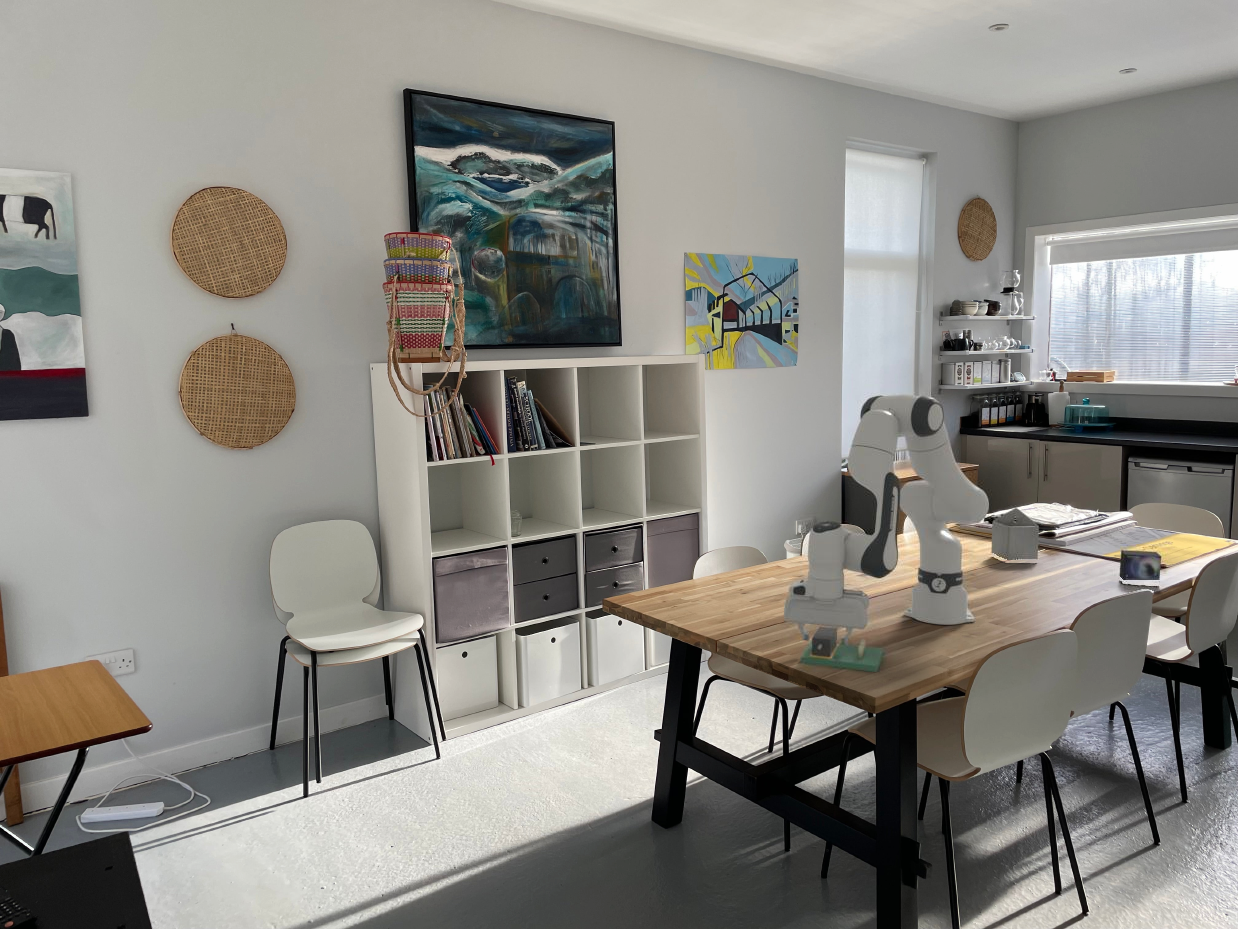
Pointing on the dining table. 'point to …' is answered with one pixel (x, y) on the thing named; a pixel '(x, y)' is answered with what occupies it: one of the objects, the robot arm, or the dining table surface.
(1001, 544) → the planter
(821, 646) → the block
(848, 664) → the board
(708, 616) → the dining table surface
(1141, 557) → the small box
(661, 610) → the dining table surface
